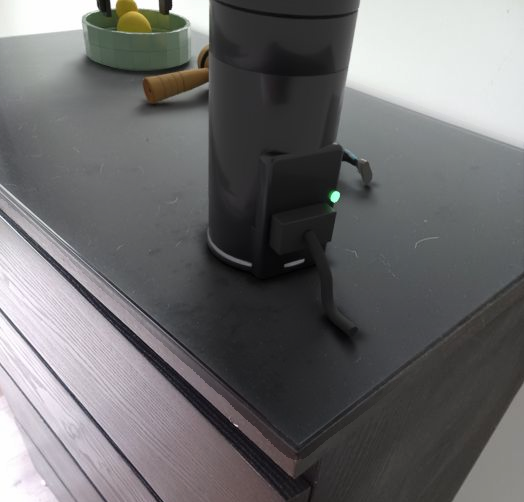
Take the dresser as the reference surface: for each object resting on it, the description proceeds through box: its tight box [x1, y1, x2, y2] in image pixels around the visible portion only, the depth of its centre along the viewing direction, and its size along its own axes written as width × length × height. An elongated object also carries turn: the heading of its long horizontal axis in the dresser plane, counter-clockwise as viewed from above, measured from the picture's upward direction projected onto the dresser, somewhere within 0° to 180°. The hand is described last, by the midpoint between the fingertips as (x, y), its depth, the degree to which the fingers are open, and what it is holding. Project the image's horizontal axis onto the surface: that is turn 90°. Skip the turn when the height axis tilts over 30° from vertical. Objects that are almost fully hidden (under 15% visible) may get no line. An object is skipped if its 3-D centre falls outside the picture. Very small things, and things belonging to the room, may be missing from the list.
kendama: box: [142, 43, 209, 105], centre depth 68 cm, size 8×6×18 cm
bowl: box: [81, 7, 192, 72], centre depth 78 cm, size 15×15×5 cm
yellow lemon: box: [115, 0, 152, 33], centre depth 79 cm, size 7×5×7 cm
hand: (136, 15), depth 75 cm, fingers open, 8 cm apart
